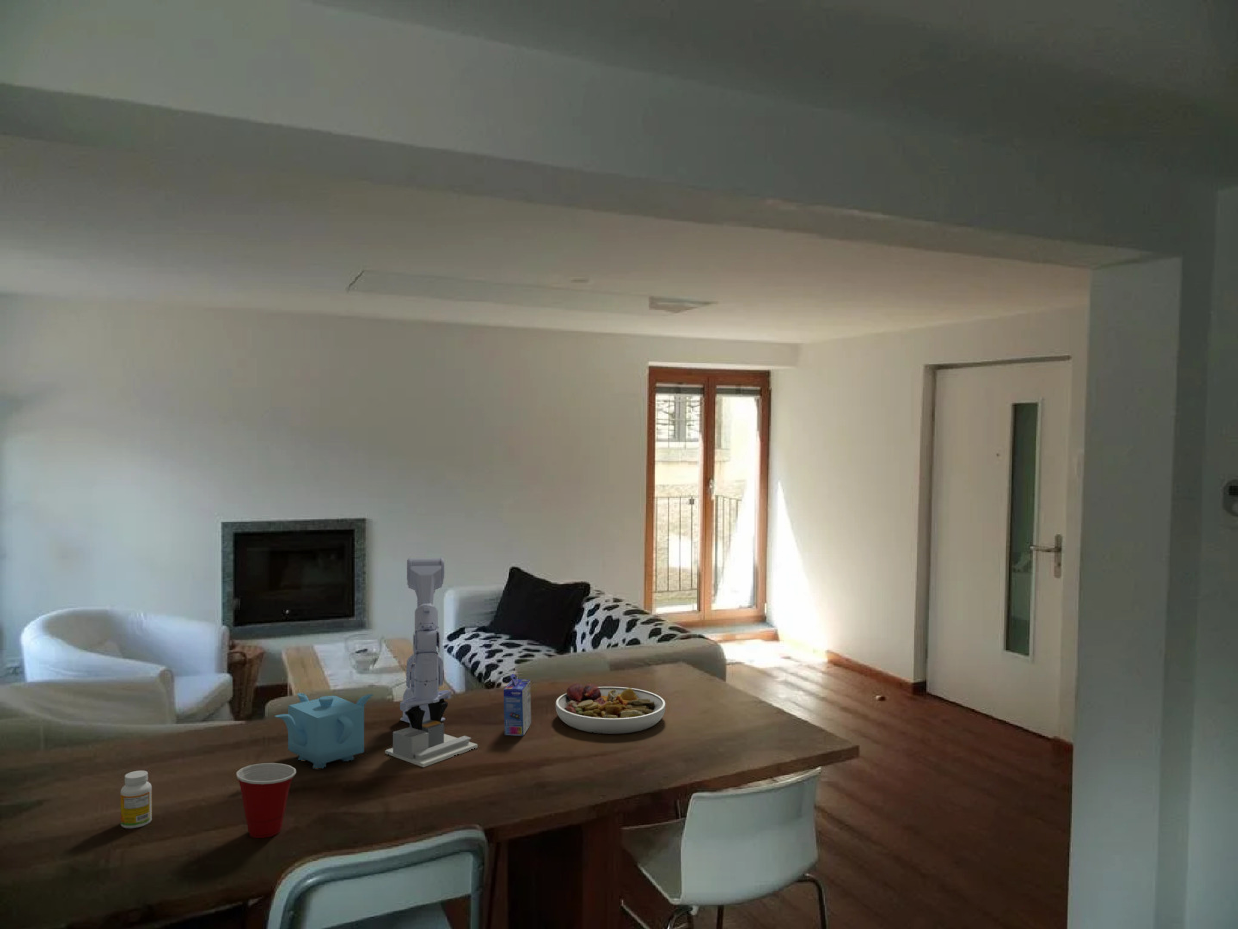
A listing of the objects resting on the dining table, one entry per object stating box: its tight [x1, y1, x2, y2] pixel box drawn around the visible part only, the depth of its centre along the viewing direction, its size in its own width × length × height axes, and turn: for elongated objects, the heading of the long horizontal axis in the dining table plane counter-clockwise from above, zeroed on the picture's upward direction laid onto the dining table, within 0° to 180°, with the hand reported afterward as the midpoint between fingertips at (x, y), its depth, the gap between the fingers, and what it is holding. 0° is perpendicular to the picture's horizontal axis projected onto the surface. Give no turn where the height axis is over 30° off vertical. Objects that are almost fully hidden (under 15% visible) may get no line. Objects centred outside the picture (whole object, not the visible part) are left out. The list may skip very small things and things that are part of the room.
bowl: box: [555, 683, 666, 735], centre depth 242 cm, size 30×30×8 cm
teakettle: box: [274, 692, 374, 769], centre depth 210 cm, size 19×19×15 cm
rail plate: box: [384, 727, 478, 768], centre depth 216 cm, size 14×17×6 cm
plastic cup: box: [236, 762, 297, 839], centre depth 171 cm, size 11×11×12 cm
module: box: [409, 718, 445, 748], centre depth 219 cm, size 7×5×5 cm
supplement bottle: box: [120, 770, 153, 829], centre depth 174 cm, size 5×5×10 cm
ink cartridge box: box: [503, 673, 532, 737], centre depth 232 cm, size 10×6×14 cm, turn 174°
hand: (425, 733), depth 219 cm, fingers closed on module, 5 cm apart
